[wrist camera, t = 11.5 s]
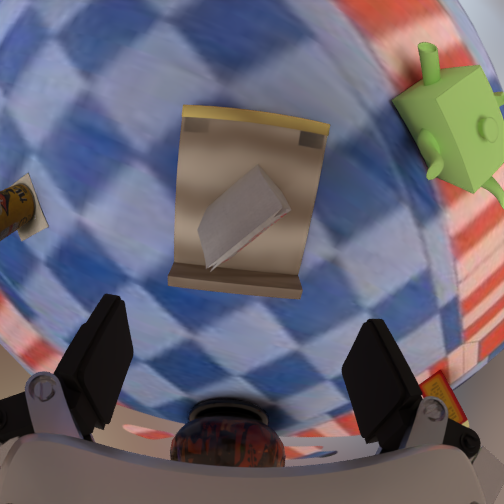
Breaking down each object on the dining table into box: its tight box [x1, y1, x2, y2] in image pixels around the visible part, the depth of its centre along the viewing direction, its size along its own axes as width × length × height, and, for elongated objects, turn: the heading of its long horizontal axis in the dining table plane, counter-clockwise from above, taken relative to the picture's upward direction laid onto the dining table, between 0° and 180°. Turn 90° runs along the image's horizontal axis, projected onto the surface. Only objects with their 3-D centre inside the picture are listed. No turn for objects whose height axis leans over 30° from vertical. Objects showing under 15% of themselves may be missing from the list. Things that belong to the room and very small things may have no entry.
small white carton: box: [198, 164, 291, 272], centre depth 23 cm, size 4×7×10 cm, turn 131°
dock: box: [168, 105, 330, 299], centre depth 27 cm, size 18×14×6 cm
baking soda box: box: [419, 370, 469, 428], centre depth 43 cm, size 10×6×16 cm
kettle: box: [392, 42, 504, 209], centre depth 21 cm, size 15×14×11 cm
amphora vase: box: [170, 399, 286, 468], centre depth 37 cm, size 22×22×28 cm
